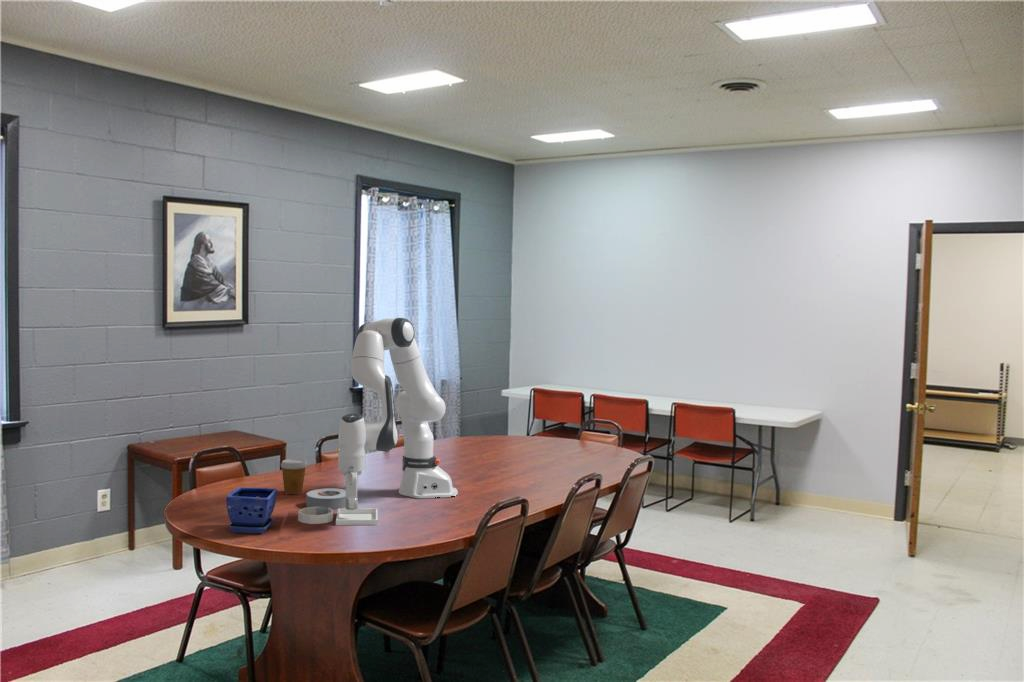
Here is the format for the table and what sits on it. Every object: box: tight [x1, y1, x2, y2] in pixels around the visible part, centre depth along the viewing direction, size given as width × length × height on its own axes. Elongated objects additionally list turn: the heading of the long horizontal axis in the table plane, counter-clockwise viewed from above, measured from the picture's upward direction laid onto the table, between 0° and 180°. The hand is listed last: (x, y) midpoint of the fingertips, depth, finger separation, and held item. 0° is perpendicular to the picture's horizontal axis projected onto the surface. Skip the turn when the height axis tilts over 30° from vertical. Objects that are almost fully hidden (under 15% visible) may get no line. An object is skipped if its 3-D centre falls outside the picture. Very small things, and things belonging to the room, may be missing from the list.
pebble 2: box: [344, 496, 359, 510], centre depth 274 cm, size 4×4×4 cm
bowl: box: [297, 506, 334, 525], centre depth 273 cm, size 11×11×4 cm
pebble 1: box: [316, 507, 329, 515], centre depth 273 cm, size 4×4×4 cm
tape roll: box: [305, 487, 346, 511], centre depth 292 cm, size 15×15×5 cm
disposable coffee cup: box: [280, 458, 308, 495], centre depth 309 cm, size 10×10×12 cm
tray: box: [335, 507, 379, 526], centre depth 275 cm, size 13×15×2 cm
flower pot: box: [225, 486, 278, 534], centre depth 261 cm, size 13×13×12 cm
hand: (351, 505), depth 274 cm, fingers closed on pebble 2, 4 cm apart
